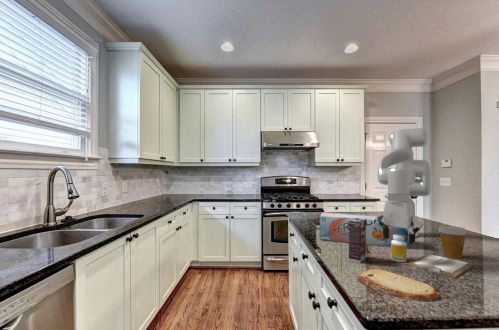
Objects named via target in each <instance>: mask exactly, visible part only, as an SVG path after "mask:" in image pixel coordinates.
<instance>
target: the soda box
mask: <svg viewBox="0 0 499 330" xmlns="http://www.w3.org/2000/svg"><path fill="white" fill-rule="evenodd" d="M379 216H380V215H367V214H353V213H352V214H351V213H341V212H340V213H339V212H325V211H324V212H321V214H320V216H319V232H318V233H319V240H320V241H328V242H329V241H330V242H340V243H347V244H349V221H351V220H353V219H355V218H359V219H366V245H367V246H377V247H385V246H386V248H391V241H392V240H394V239H393V235H402V236H404V241H405V242H406V250H407V249H409V237H408V229H407V228H400V227H394V226H389V227H388V228H389V238H387V239H384V236H383V229H382V227H381V225H380V224H379V222H378V220H377V217H379ZM382 221H383V219H382Z"/></svg>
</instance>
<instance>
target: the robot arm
mask: <svg viewBox="0 0 499 330" xmlns="http://www.w3.org/2000/svg"><path fill="white" fill-rule="evenodd" d="M428 142H429V134H428V131H427V130H426V129H425V128H423V127H422V128H421V127H419V128H417V127H416V128H403V129H398V130H395V132H390V134H389V135H388V143H389V144H390V145H391V148H390V152H388V153H387V154H385V155H384V156H383V157H382V158H381V160H380V161H379V163H378V166H377V167H378V168H377V175H376V176H377V181H378V183H379V184H380V185H385V186H387V194H385V195H384V198H385V199H387V200H385V202H384V207H383V214H382V215H378V216H379V217H377V220H378V222H379V224H380V225H381V227H382V229H383V236H384V239H387V238H389V228H388V227H389V226H394V227H400V228H407V229H408V245H414V244H415V242H416V238H417V237H419V236H420V234H419V231H421V229H422V227H423V225H424V223H423V222H421V221H420V220H418V219H417V218H416V203H415V201H414V200H413V199H412V197H429V195H430V194H431V188H432V187H431V185H432V184H431V182H432V181H431V178H432V177H431V176H432V175H431V165H430V162H429V161H428V160H426V159H414V151H413V148H417V147H418V148H422V147H423V148H424V147H426V146H427V144H428ZM394 165H395V167H391V166H394ZM382 219H383V221H382Z"/></svg>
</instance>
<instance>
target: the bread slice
mask: <svg viewBox="0 0 499 330" xmlns="http://www.w3.org/2000/svg"><path fill="white" fill-rule="evenodd" d="M356 280H357V282H359V283H361V284H363V286H365V287H367V288H369V289H371V290H373V291H376V292H378V293H382V294H386V295H387V296H388V295H389V296H393V297H397V298H401V299H405V300H413V301H420V302H423V301H424V302H431V301H437V300H438V299H439V298H440V297H439V295H438V293H437V291H436V289H435V288H434V287H433V286H432V285H429V284H428V283H424V282H422V281H419V280H416V279H414V278H410V277H407V276H404V275H401V274H397V273H393V272H392V271H391V272H390V271H387V270H383V269H380V268H377V267H376V268H371V269H366V270H364V271H362V272H360V274H359V275H357V279H356Z"/></svg>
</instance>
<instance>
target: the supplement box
mask: <svg viewBox="0 0 499 330" xmlns="http://www.w3.org/2000/svg"><path fill="white" fill-rule="evenodd" d="M366 254H367V246H366V219H359V218H355V219H353V220H351V221H349V243H348V261H350V262H353V263H358V264H361V262H363V261H364V260H365V258H366V257H367V255H366Z"/></svg>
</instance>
